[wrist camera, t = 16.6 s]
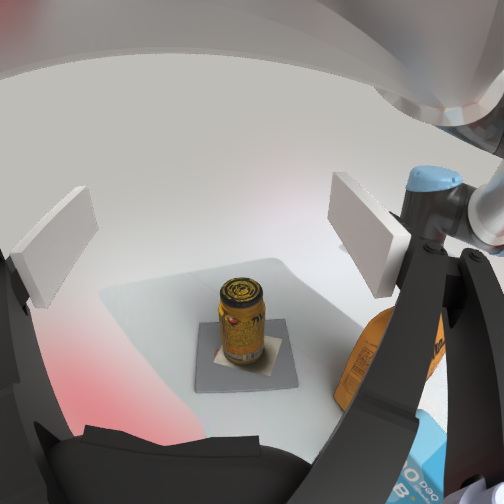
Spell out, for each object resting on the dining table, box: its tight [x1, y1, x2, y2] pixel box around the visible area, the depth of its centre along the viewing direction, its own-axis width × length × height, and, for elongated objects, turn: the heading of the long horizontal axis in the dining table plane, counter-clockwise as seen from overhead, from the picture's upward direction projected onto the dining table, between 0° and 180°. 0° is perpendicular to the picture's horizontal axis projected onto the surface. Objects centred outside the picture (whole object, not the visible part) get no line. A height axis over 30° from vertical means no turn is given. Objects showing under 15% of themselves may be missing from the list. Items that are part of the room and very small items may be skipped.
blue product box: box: [385, 409, 447, 504], centre depth 19 cm, size 12×4×12 cm, turn 25°
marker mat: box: [195, 319, 299, 393], centre depth 41 cm, size 14×13×1 cm
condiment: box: [213, 278, 282, 376], centre depth 38 cm, size 7×8×12 cm
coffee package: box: [334, 257, 460, 412], centre depth 28 cm, size 10×12×22 cm
